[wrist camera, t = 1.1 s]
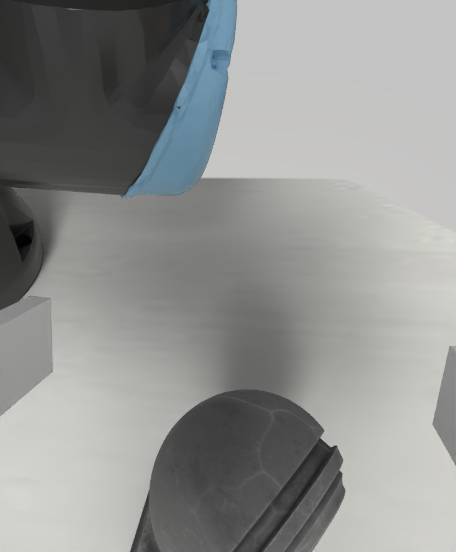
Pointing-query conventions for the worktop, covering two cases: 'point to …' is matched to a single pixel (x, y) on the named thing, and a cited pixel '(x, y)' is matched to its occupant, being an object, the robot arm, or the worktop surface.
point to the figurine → (241, 479)
